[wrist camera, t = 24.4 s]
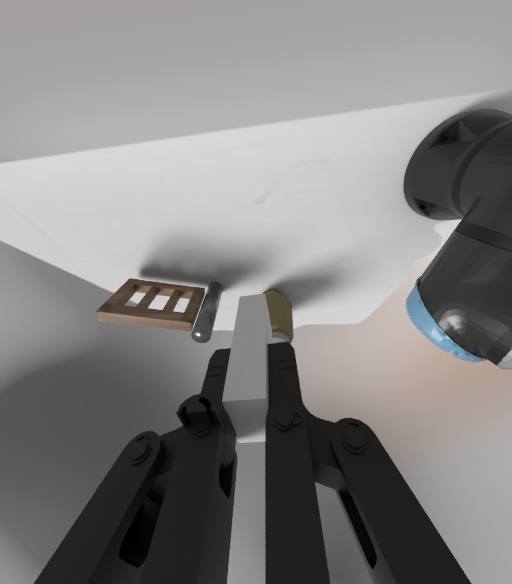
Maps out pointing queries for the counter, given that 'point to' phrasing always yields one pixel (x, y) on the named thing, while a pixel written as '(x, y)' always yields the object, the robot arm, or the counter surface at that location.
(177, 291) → the gate
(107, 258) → the counter surface
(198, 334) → the gate post
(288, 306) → the squeeze bottle
